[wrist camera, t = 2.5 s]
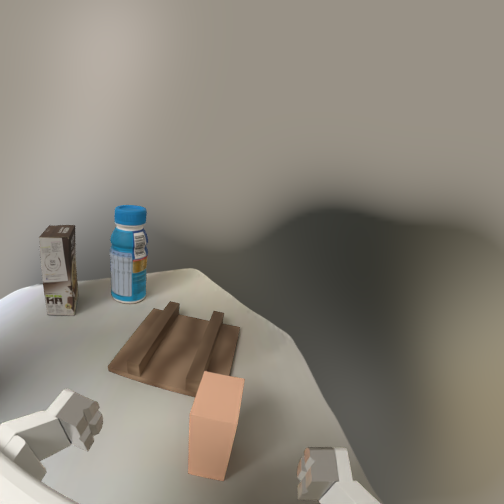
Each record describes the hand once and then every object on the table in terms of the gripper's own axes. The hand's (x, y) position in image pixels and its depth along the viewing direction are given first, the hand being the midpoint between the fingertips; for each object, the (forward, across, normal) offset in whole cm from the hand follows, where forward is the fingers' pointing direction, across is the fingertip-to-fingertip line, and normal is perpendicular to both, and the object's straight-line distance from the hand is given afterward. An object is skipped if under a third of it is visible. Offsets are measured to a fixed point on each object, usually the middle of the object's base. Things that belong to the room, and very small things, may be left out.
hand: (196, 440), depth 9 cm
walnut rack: (+32, +10, +22) cm, 40 cm away
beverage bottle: (+46, +27, +22) cm, 57 cm away
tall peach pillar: (+12, +1, +22) cm, 25 cm away
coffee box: (+35, +38, +21) cm, 56 cm away
